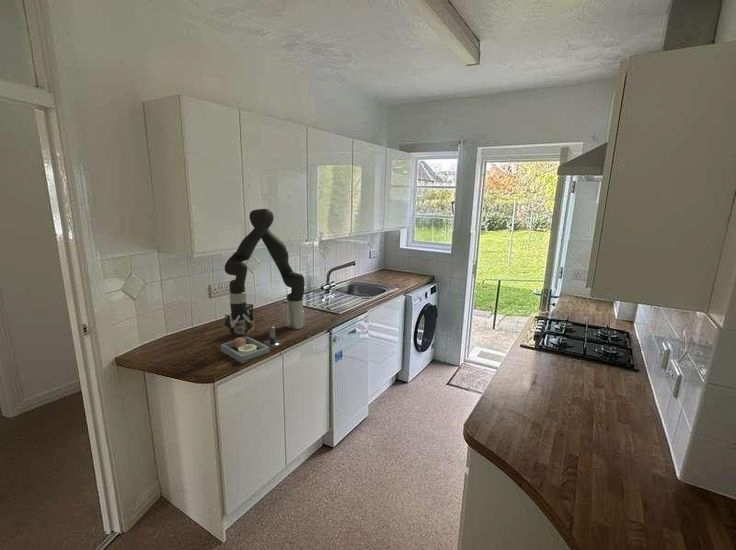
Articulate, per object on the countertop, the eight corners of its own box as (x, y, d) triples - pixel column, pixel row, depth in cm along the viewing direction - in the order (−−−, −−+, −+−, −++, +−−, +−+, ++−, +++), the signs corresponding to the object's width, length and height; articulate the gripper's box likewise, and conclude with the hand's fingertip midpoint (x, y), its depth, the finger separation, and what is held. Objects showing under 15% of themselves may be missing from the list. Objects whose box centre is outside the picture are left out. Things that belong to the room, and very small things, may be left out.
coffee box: (246, 336, 200) (245, 308, 197) (236, 335, 201) (234, 307, 198) (254, 330, 209) (253, 304, 205) (244, 329, 210) (243, 303, 207)
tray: (248, 342, 192) (247, 336, 191) (269, 353, 179) (269, 347, 178) (221, 351, 181) (220, 344, 180) (242, 363, 168) (241, 356, 167)
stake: (275, 339, 197) (274, 322, 195) (286, 344, 190) (285, 326, 188) (259, 344, 189) (258, 326, 187) (270, 350, 183) (269, 331, 181)
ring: (245, 344, 187) (245, 335, 186) (260, 352, 179) (259, 342, 178) (230, 349, 181) (229, 340, 180) (244, 357, 172) (243, 347, 171)
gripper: (247, 296, 185) (249, 326, 188) (220, 302, 174) (223, 333, 178) (255, 299, 180) (257, 329, 184) (228, 305, 169) (231, 337, 173)
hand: (240, 331), depth 181 cm, fingers open, 8 cm apart
